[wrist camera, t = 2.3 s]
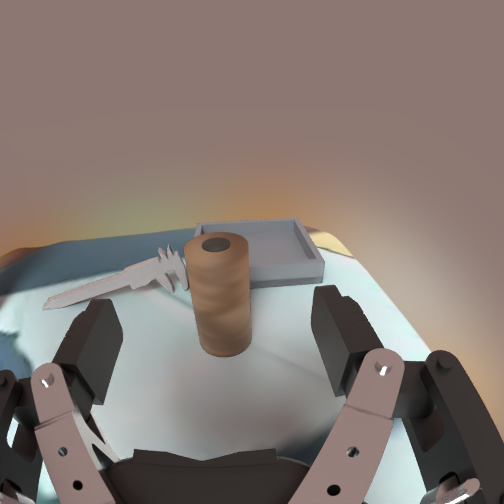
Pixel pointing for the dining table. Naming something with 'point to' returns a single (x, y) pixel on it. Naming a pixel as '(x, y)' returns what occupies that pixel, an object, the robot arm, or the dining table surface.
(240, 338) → the cylinder
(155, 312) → the dining table surface
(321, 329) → the robot arm
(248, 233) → the tray
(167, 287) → the caliper
